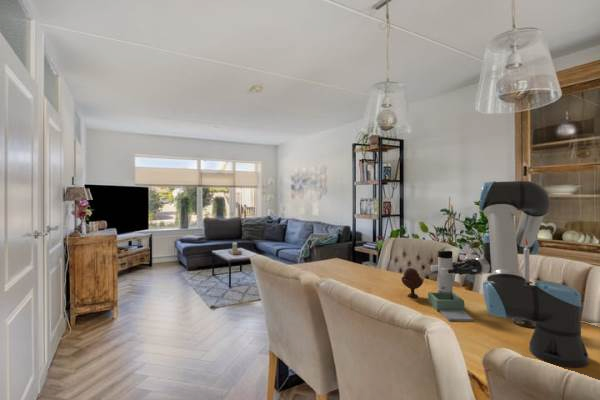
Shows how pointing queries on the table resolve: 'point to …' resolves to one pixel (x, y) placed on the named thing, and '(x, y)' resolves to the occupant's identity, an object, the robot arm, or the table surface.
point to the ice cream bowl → (412, 281)
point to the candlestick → (526, 275)
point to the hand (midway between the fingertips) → (436, 269)
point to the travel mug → (447, 279)
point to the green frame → (445, 301)
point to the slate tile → (456, 315)
